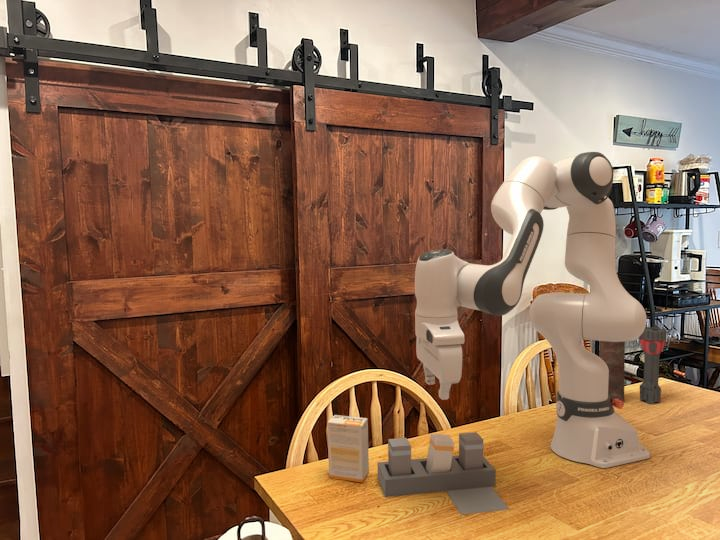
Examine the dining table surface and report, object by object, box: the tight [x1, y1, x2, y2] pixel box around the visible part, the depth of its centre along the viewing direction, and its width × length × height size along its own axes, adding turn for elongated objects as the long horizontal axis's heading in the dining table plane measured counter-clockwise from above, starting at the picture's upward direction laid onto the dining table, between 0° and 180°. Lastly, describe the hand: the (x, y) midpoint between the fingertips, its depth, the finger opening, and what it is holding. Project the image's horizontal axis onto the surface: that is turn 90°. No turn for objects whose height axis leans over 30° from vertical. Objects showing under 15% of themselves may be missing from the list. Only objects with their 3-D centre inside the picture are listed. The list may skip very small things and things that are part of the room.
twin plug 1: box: [387, 437, 412, 476], centre depth 113 cm, size 4×4×8 cm
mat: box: [445, 487, 510, 515], centre depth 107 cm, size 10×10×1 cm
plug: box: [426, 432, 455, 473], centre depth 114 cm, size 4×4×8 cm
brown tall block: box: [598, 341, 626, 403], centre depth 165 cm, size 8×7×20 cm
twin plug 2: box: [458, 431, 485, 470], centre depth 115 cm, size 4×4×8 cm
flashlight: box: [638, 325, 667, 405], centre depth 165 cm, size 8×8×23 cm
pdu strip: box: [377, 454, 497, 498], centre depth 114 cm, size 24×8×4 cm, turn 99°
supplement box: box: [326, 414, 370, 484], centre depth 118 cm, size 8×5×13 cm, turn 71°
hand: (436, 390), depth 112 cm, fingers open, 8 cm apart
